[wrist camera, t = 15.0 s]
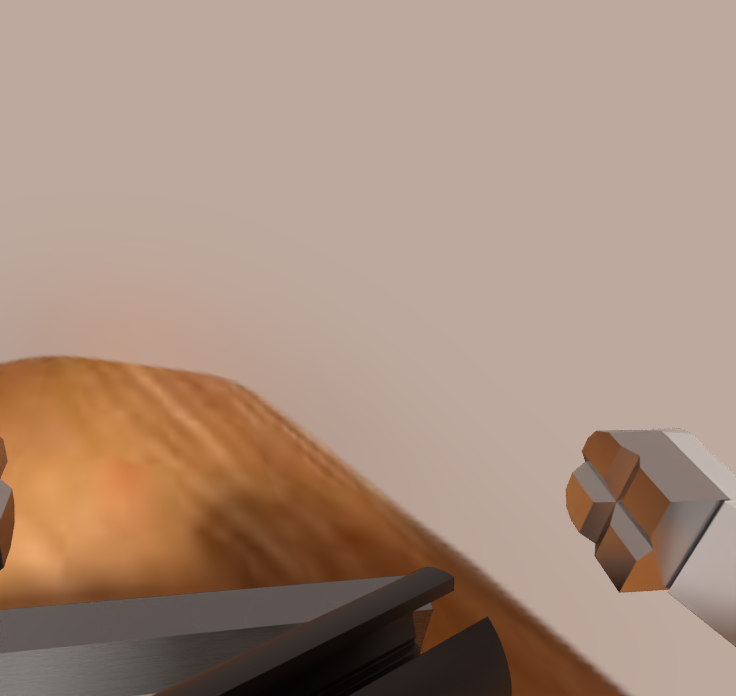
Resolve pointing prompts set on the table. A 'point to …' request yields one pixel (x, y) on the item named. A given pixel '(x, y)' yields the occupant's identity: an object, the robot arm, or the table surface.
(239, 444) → the table surface
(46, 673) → the track rails
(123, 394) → the table surface
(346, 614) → the phone stand
